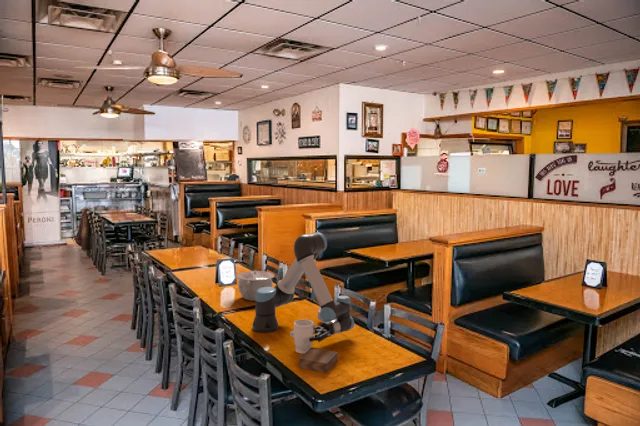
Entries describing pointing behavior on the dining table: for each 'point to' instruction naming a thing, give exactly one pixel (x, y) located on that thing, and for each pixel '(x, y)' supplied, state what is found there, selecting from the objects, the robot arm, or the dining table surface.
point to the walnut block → (318, 360)
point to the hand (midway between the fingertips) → (297, 337)
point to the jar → (303, 335)
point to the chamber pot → (253, 283)
